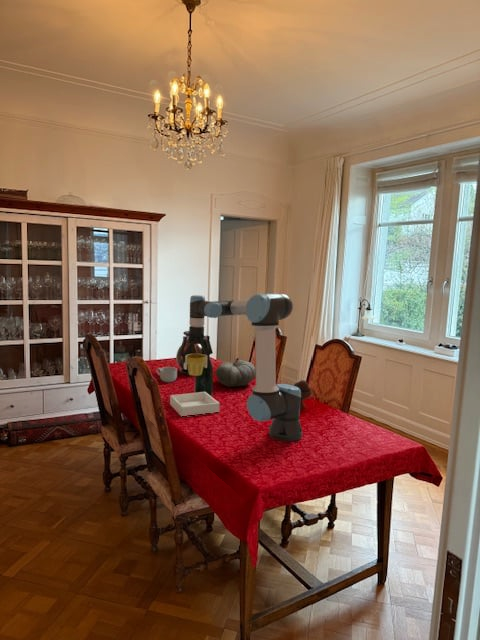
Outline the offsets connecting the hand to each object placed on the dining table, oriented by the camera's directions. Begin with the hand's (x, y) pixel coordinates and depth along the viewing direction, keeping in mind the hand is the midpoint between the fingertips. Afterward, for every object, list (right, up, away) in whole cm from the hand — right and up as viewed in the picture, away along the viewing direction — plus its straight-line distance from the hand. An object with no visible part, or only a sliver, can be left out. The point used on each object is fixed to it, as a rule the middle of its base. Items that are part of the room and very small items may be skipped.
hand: (195, 368), depth 229 cm
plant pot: (0, -3, +1) cm, 4 cm away
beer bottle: (+2, -18, +27) cm, 32 cm away
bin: (-1, -21, +3) cm, 22 cm away
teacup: (-24, -14, +51) cm, 58 cm away
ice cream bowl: (+56, -23, +13) cm, 62 cm away
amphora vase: (-10, -11, +74) cm, 75 cm away
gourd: (+20, -16, +49) cm, 56 cm away
